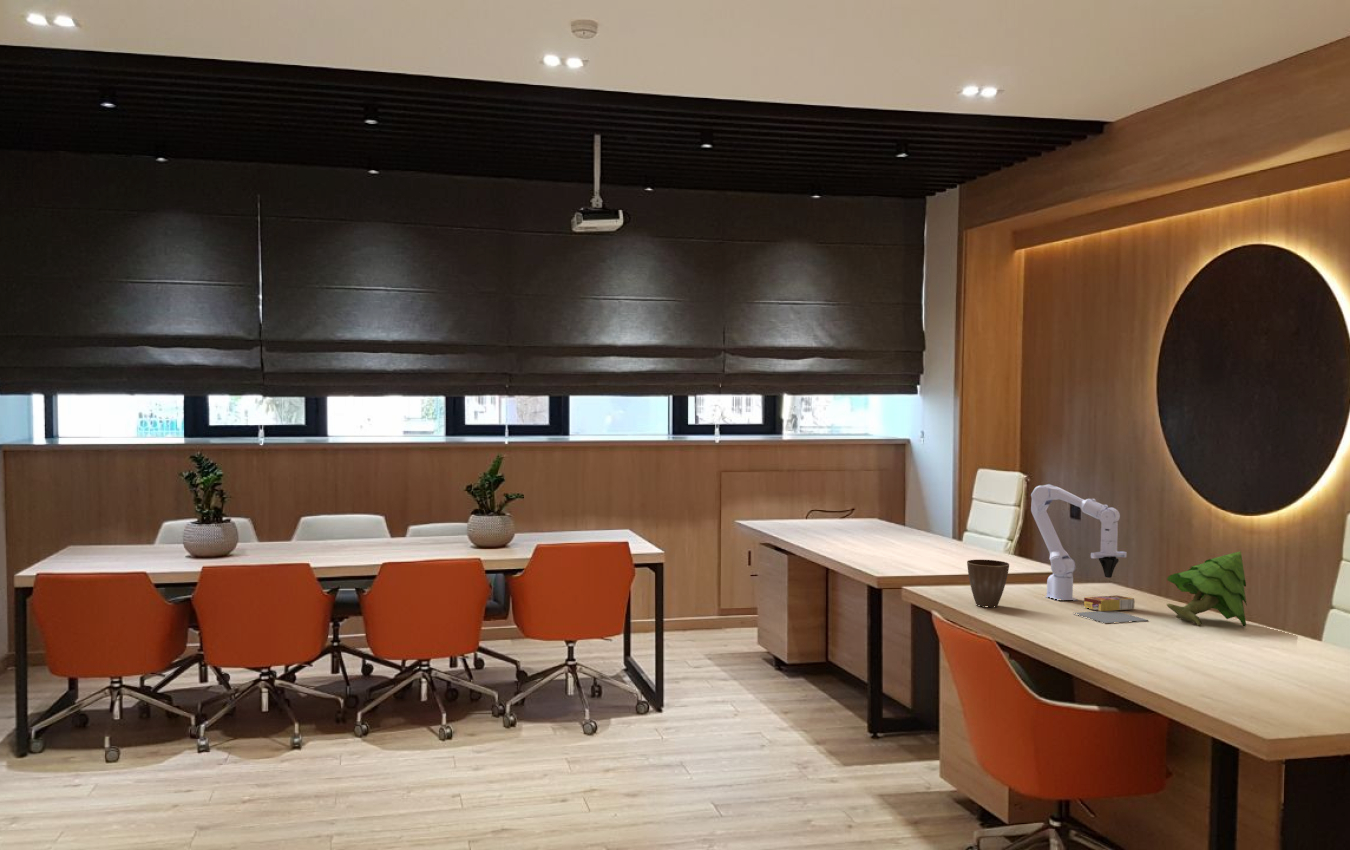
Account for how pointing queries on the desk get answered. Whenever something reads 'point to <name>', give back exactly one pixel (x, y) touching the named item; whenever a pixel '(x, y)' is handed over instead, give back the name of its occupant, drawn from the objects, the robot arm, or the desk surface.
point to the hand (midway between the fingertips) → (1108, 577)
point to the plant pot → (987, 580)
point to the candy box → (1109, 603)
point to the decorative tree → (1213, 588)
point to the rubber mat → (1110, 616)
